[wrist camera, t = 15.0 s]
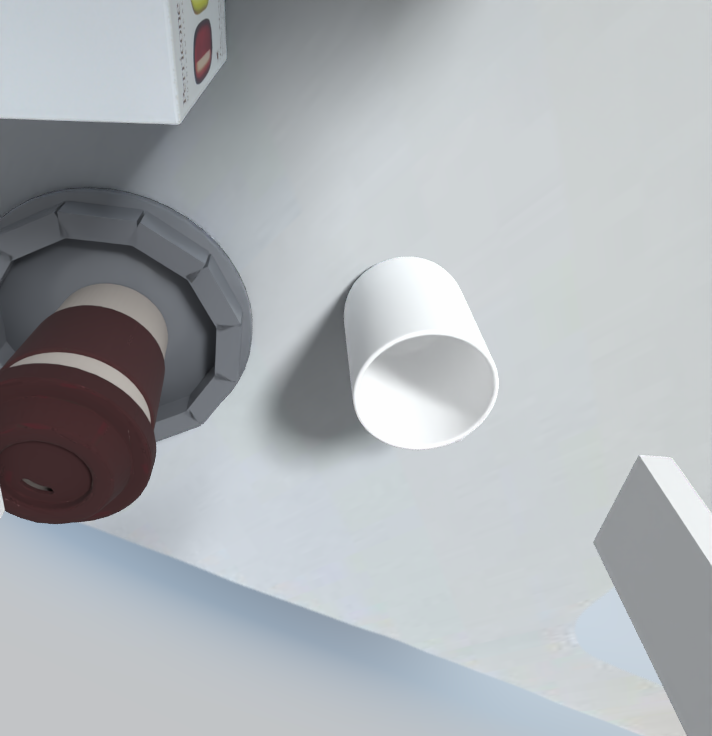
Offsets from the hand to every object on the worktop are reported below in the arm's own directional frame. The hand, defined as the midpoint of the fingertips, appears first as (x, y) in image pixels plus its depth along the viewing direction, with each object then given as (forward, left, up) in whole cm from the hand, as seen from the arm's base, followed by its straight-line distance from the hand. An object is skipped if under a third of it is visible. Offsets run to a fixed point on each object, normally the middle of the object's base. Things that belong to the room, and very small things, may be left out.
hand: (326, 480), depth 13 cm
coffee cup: (+15, -12, -30) cm, 35 cm away
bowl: (+15, -12, -31) cm, 36 cm away
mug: (+13, +9, -31) cm, 35 cm away
